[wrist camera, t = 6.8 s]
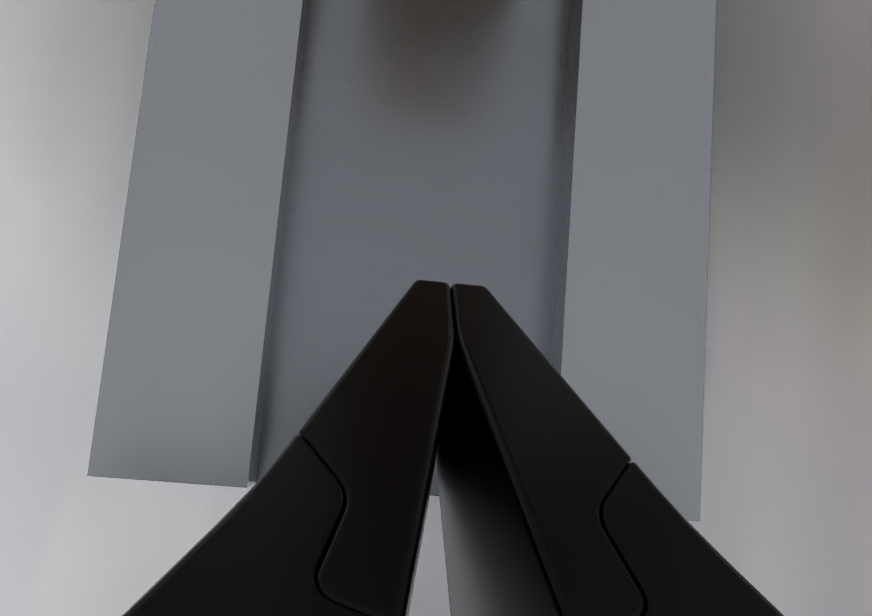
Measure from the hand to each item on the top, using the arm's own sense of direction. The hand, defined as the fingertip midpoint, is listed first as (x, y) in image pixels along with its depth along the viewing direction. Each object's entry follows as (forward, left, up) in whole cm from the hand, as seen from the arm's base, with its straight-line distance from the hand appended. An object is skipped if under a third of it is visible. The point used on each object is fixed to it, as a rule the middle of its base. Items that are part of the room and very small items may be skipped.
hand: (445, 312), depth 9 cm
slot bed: (+5, -4, -8) cm, 11 cm away
